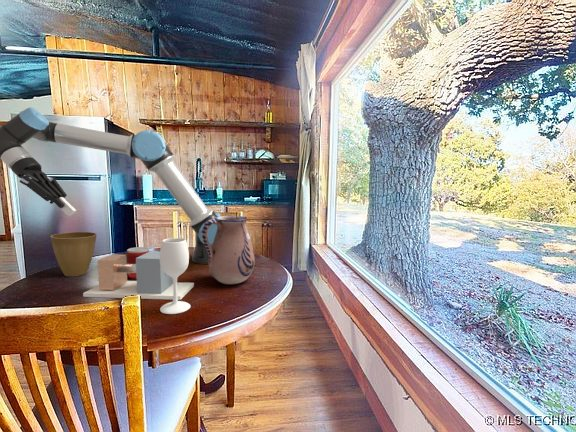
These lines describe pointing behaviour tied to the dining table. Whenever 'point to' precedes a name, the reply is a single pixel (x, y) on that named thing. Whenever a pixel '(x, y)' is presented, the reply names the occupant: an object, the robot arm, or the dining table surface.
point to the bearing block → (145, 282)
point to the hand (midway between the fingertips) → (72, 213)
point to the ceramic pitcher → (229, 250)
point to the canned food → (132, 256)
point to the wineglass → (174, 270)
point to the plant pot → (74, 251)
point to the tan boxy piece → (114, 271)
